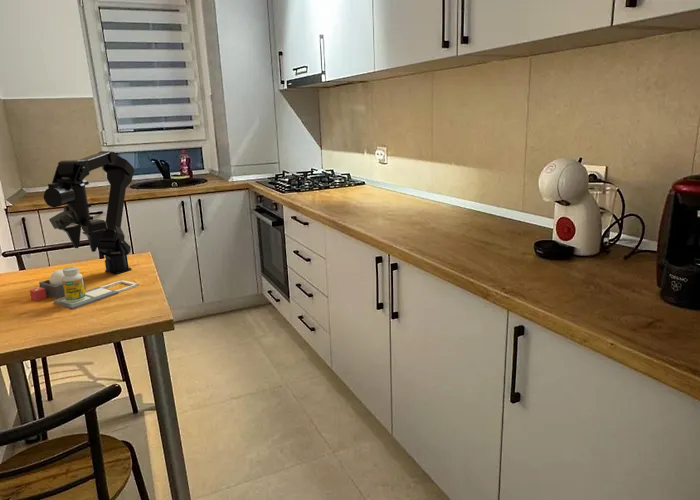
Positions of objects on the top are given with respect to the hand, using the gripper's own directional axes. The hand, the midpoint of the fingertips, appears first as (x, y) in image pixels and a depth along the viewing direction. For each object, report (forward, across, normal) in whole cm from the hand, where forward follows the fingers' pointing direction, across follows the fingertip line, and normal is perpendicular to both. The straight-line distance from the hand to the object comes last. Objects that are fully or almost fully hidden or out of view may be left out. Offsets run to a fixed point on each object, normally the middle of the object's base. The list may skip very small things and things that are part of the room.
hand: (85, 249), depth 163 cm
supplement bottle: (+12, +10, -11) cm, 19 cm away
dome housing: (+12, -2, -10) cm, 16 cm away
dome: (+11, -2, -8) cm, 14 cm away
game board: (+12, +10, -4) cm, 16 cm away
